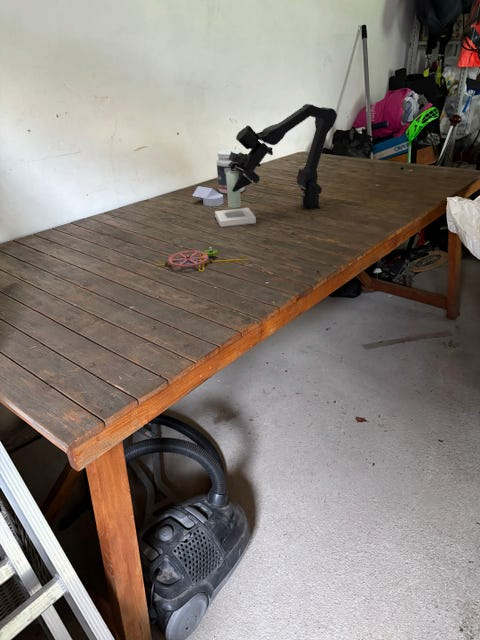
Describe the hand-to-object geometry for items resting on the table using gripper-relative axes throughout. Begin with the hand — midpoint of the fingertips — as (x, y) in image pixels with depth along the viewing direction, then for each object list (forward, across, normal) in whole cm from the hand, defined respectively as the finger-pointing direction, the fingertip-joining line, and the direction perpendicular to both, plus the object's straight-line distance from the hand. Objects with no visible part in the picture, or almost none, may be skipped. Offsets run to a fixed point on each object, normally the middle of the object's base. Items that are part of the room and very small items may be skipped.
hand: (230, 189), depth 196 cm
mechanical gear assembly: (+27, +36, -9) cm, 46 cm away
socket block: (+8, 0, +10) cm, 13 cm away
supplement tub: (-3, -43, +21) cm, 48 cm away
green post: (+4, 0, +6) cm, 7 cm away
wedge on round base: (+8, -30, +10) cm, 32 cm away
